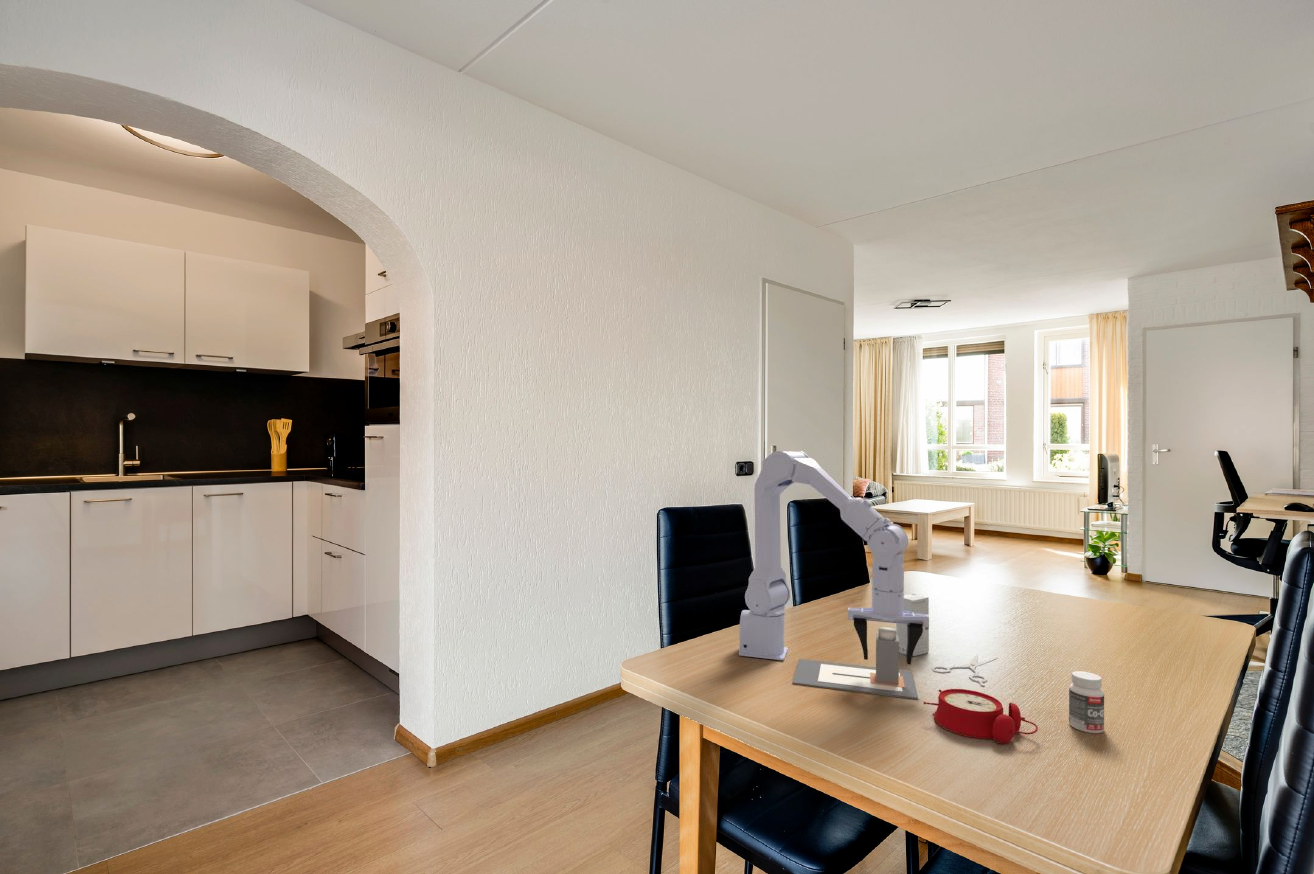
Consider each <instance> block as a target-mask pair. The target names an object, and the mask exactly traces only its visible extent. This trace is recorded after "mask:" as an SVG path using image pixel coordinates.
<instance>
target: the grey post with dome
mask: <svg viewBox="0 0 1314 874" xmlns="http://www.w3.org/2000/svg"><path fill="white" fill-rule="evenodd" d="M899 662H900V653H899V639H898V636H896V629H895V628H891V627H885V626H884V627H879V628H878V633H876V634H875V667H876V682H879V683H888V684H896V685H899V670H900V666H899V665H900V663H899Z"/></svg>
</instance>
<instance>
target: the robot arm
mask: <svg viewBox="0 0 1314 874" xmlns="http://www.w3.org/2000/svg"><path fill="white" fill-rule="evenodd" d="M761 462H762V463H761V464H762V466H761V470H760V472H759V474H758V476H757V479H756V481H755V483H754V488H753V489H754V542H755V543H754V550H755V551H754V555H755V557H754V560H755V561H754V562H755V563H754V565H755V567H754V569H753V571H752V572H751V573H750V576H749V577H748V584H747V585H748V586H747V589H746V591H745V592H744V593H745V594H744V599H745V604H746V606H747V607H748V609H743V610H742V611H741V612H740V613H741V614H740V617H739V618H740V619H739V652H738V655H739V656H742V657H749V658H760V659H767V660H775V661H776V660H777V661H784V660H785V658H786V655H787V653H788V650H789V648H788V647H787V646H785V616H786V615H785V614H786V612H785V611H786V610H785V608H786V607H785V605H787V603H788V602H789V600H790V598H791V589H790V587H789V585H788V582H787V573H786V572H785V570H784V569H783V568H782V561H781V559H782V557H781V494H782V493H783V492H784V491H785V490H786V489H788V487H790V486H791V485H793V484H795V483H798V484H803V485H809V486H810V487H812V488H813V489H814V490H816V491H817V492H818V493H819V494H820V495H822V496H823V497H824V498H825V499H826V500H828V501H829V502H831V504H833V505H834V506H835V507H836V508H838V509H839V513H840V518H841V520H842V521H843V523H845V524H846V525H847V526H848V527H850V528H851V529H852V530H853V531H854V532H855V533H856V534H857V535H859V536H860V537H861V538H862V539H863V540H864V541H865V542H866V544H867V547H868V549H869V551H870V552H871V554H872V565H871V566H872V569H871V574H872V578H871V607H847V620H848V621H853V627H854V629H855V631H856V634H857V636H858V638H859V641H860V645H861V648H862V654H863V660H867V661H868V659H869V649H868V622H879V623H891V624H896V623H899V624H907V653H906V655H905V656H906V657H905V658H906V659H905V661H906V664H907V665H912V661H913V660H912V659H913V657H914V656H913V652H914V649H915V647H916V644H917V642H918V640H919V638H920V637H921V635H922V633H923V627H929V628H930V616H928V614H920V613H914V612H908V611H904V595H905V594H904V593H905V565H904V563H905V561H904V560H905V556H904V554H905V553H904V551H905V550H906V549H907V547H908V545H909V538H908V535H907V533H906V531H905V530H904V529H903V528H902V526H901V525H899V524H896V523H891V522H892V520H891V519H889V518H888V517H884V516H883V515H882V514H881V513H879V512H878V511H877V510H876V509H875V508H874V507H873V506H872V505H873V503H872V502H871V500H869V499H863V498H862V497H852V496H851V495H849V493H848V492H847V491H846V490H845V489H844V488H843V487H842V486H841V485H840V484H839V483H838V482H836V481H835V479H834V478H832V477H831V476H830V475H829V474H828V472H826V471H825V470H824V469H823V468H822V467H821V466H820V465H819V463H818V462H817V461H816V460H815V459H813V458H812V457H809V455H808V454H807V453H806V452H804V451H802V450H794V451H793V450H792V451H788V450H787V451H784V450H776V451H773V452H772V453H770V454H769V455H768V456H767V457H765V458H764V459H763V460H762V461H761Z"/></svg>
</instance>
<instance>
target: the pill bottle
mask: <svg viewBox="0 0 1314 874" xmlns="http://www.w3.org/2000/svg"><path fill="white" fill-rule="evenodd" d="M1102 683H1103V682H1102V677H1101V676H1100V675H1098V674H1095V673H1092V672H1088V671H1083V670H1081V671H1080V670H1077V671H1073V672H1071V684H1069V688H1068V689H1069V690H1068V723H1069V725H1070V726H1071V727H1072V728H1074V729H1076V730H1078V731H1081V732H1084V733H1088V734H1100V733H1103V732H1104V730H1105V692H1104V690H1103V689H1102V686H1103V684H1102Z"/></svg>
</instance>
